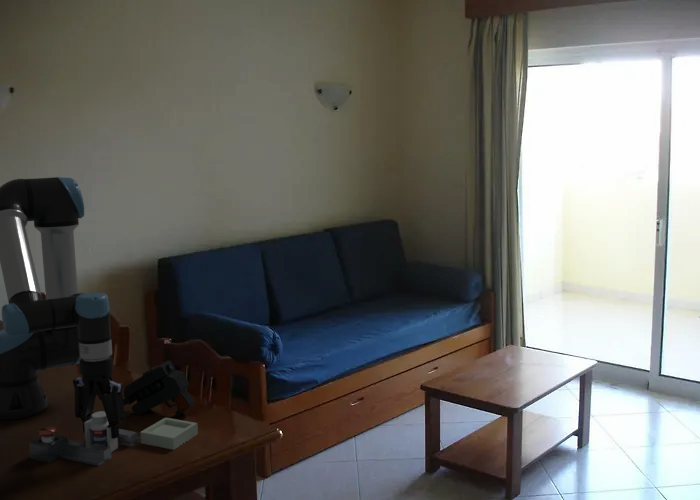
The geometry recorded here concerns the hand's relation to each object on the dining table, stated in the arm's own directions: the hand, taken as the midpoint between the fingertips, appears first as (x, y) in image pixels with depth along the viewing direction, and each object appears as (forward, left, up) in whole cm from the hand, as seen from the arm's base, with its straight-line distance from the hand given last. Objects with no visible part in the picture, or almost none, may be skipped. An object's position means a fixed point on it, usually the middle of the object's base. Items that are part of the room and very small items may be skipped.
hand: (102, 447), depth 177 cm
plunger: (-9, -8, 0) cm, 12 cm away
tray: (+12, +11, 0) cm, 16 cm away
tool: (-2, +24, -1) cm, 24 cm away
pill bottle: (0, 0, -1) cm, 1 cm away
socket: (0, 0, 0) cm, 0 cm away
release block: (-9, -8, 0) cm, 12 cm away
